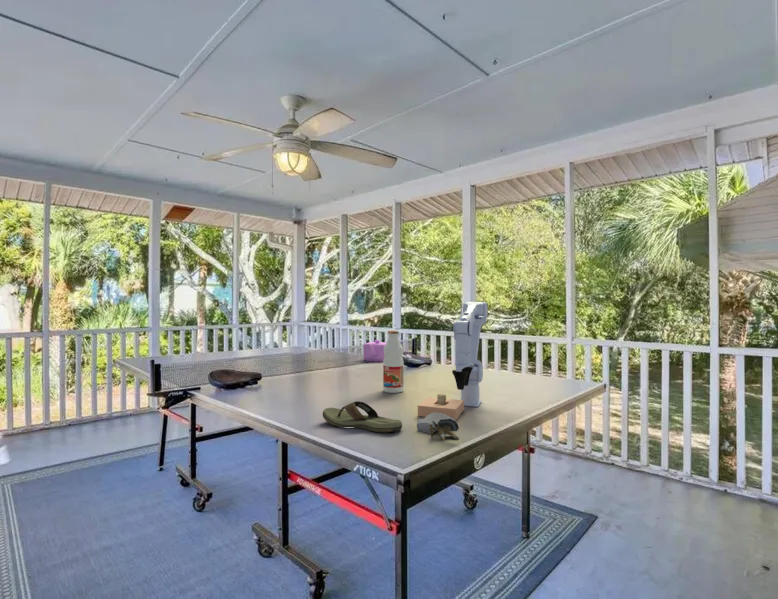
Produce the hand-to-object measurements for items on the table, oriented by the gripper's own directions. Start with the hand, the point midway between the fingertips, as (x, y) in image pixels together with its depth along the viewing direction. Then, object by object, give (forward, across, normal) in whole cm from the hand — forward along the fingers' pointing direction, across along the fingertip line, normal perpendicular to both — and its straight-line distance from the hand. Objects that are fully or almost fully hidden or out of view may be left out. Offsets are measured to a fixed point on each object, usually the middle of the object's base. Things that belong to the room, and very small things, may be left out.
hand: (462, 387), depth 167 cm
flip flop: (+10, -30, +28) cm, 42 cm away
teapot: (+10, +108, +83) cm, 137 cm away
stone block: (+10, -24, +3) cm, 26 cm away
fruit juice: (+10, +24, +38) cm, 46 cm away
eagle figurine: (+10, -32, -1) cm, 34 cm away
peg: (+9, -5, +7) cm, 13 cm away
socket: (+9, -5, +7) cm, 13 cm away
